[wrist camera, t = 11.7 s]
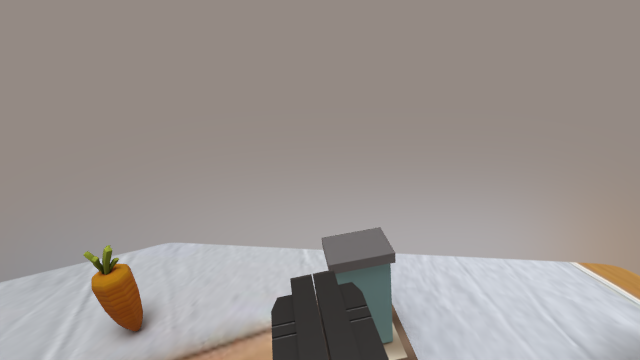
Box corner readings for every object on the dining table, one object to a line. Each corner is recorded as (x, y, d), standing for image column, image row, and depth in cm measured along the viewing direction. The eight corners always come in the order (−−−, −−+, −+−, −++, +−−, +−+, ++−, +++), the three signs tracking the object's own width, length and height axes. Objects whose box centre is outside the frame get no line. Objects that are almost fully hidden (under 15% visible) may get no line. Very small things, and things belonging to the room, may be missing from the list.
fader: (397, 343, 37) (395, 252, 32) (340, 355, 37) (328, 265, 31) (384, 311, 42) (380, 227, 36) (333, 322, 41) (321, 237, 36)
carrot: (112, 336, 47) (67, 254, 41) (144, 312, 51) (107, 234, 45) (129, 350, 45) (84, 266, 38) (162, 324, 48) (125, 243, 42)
